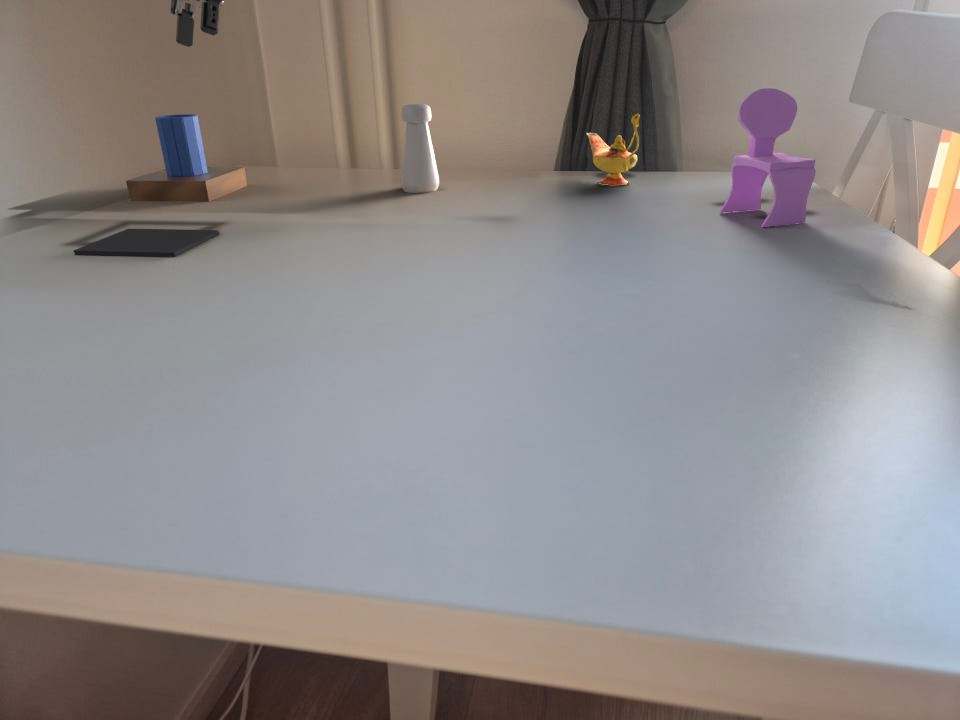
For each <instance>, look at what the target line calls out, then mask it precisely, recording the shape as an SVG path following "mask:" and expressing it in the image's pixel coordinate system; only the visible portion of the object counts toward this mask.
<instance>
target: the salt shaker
mask: <svg viewBox="0 0 960 720" xmlns="http://www.w3.org/2000/svg"><path fill="white" fill-rule="evenodd" d="M400 115H401V120H402V122H403V123H405V131H404V139H403V141H404V143H403V150H402V160H401V168H400V169H401V170H400V180H399V182H400V186H401V188H402V190H403V191H404V192H406V193H412V194H423V193H431V192H435V191H437V190H438V189H439V186H440V176H439V172H438V171H439V170H438V167H437V162H436V156H435V152H434V147H433V143H432V138H431V133H430V127H429V122H431V121H432V110H431V107H430V106H429V105H428V104H425V103H408V104H405V105H403V106H402V108H401V112H400Z"/></svg>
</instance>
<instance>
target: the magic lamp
mask: <svg viewBox="0 0 960 720" xmlns="http://www.w3.org/2000/svg"><path fill="white" fill-rule="evenodd" d="M640 119H641V115H640V114H639V112H638V113H636V114H634V115H633V116H632V117H631V119H630V120H631V121H630V122H631V124H632V127H633V135H632V137H631V140H630V142H629V145H628V146H627V148H626V141H625V139H624V138H622V135H620V134H619V135H617V136H616V138H615V139H614V142H613V144H612V143H611V144H610V146H609V145H608V144H607V143H606V142H605V141H604V140H603V139H602V138H601V137H600V135H598V134H597V133H595V132H585V134H586V136H587V138H588V141H589V145H590V148H591V153H592V162H593V164H594V166H596V168H597V169H599V170H601V171H603V172H605V173H607V174H606V176H605V177H603V178H602V179H601V180H599V181H598V182H599V183H601V184H608V185H621V184H627V183H628V182H629V181H628V180H626V179H625V178H624V177H623V176H622V173H629V172H630V170H631V169H632V168H634V167H635V166H636V165H637V162H638V155H637V154H635V153H637V152H638V149H639V147H640V136H639V131H638V127H639V126H640V122H639V120H640ZM635 138H636V147H635V149H634V150H633V151H632V152H630V151H629V150H630V149H631V147H632V144H633V142H634V140H635Z"/></svg>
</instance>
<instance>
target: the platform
mask: <svg viewBox="0 0 960 720" xmlns="http://www.w3.org/2000/svg"><path fill="white" fill-rule="evenodd" d="M245 169H246V168H245V167H244V166H207V170H208V173H205V174H202V175H196V176H186V177H172V176H167V173H166V168H164V169H160V170H157V171H154V172H150V173H147V174H144V175H140V176H137V177H134V178H129V179H128V180H125V183H126V187H127V188H126V189H127V192H128V197H129V201H130V202H199V203H201V202H202V203H203V202H204V203H205V202H206V203H210V202H212V201H215V200H217V199H219V198H221V197H224V196H226V195H228V194H232V193H234V192H236V191H238V190H241V189H243V188H246V187H247V186H248V183H247V176H246V170H245Z"/></svg>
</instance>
